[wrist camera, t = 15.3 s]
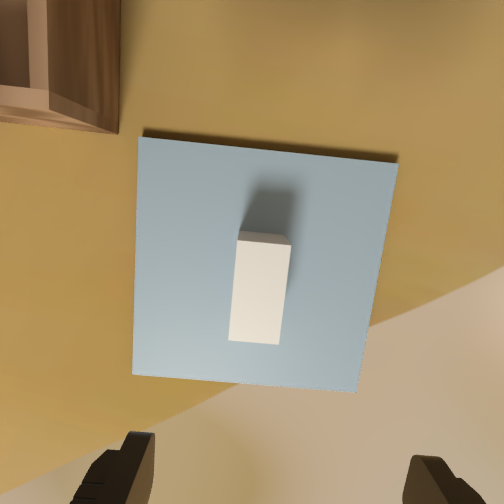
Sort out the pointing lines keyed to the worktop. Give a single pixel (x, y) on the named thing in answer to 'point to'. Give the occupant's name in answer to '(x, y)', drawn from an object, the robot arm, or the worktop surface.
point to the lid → (256, 263)
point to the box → (60, 63)
